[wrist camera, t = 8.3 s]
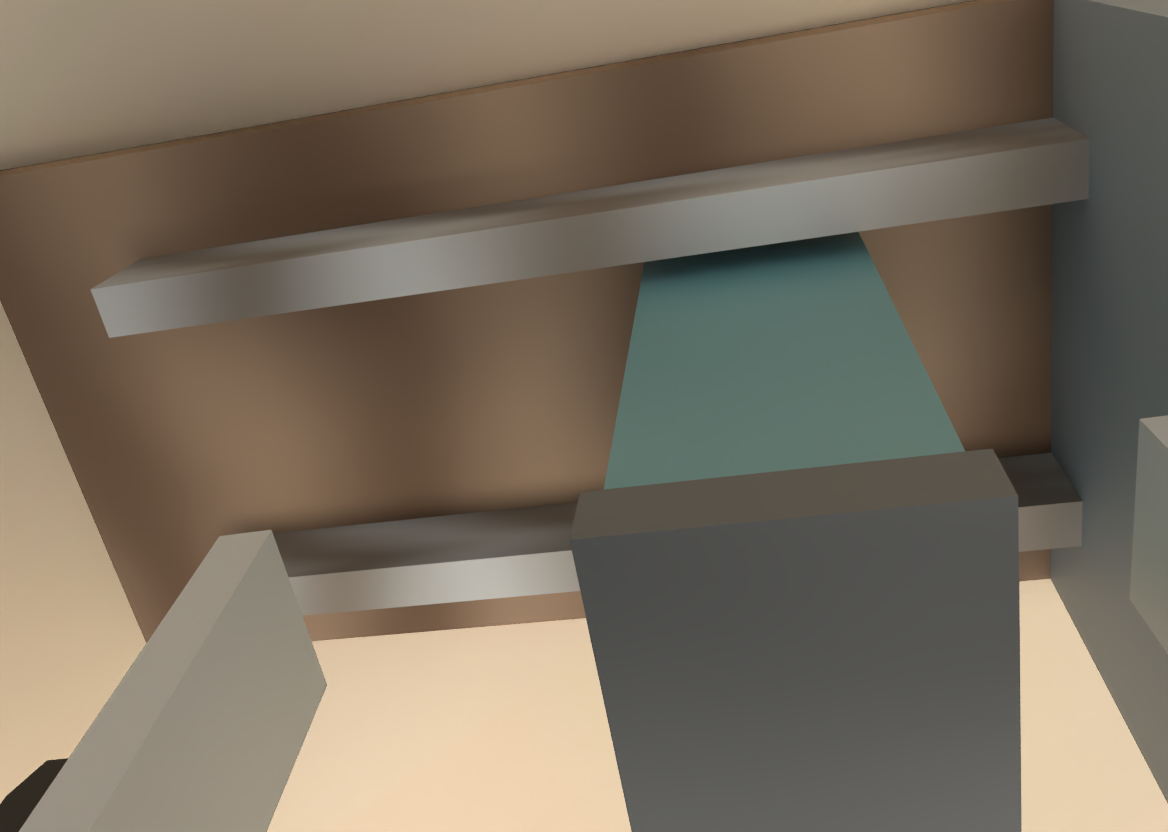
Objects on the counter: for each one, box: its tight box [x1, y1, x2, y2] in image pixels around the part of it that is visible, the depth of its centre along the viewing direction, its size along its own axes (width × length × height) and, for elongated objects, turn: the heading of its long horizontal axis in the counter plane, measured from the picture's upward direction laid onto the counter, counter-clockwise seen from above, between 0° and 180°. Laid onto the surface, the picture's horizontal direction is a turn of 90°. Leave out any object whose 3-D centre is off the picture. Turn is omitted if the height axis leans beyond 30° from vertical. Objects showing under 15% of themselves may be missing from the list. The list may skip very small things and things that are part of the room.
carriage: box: [570, 232, 1021, 832], centre depth 16 cm, size 4×5×11 cm
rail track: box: [0, 0, 1090, 643], centre depth 21 cm, size 28×12×3 cm, turn 100°
